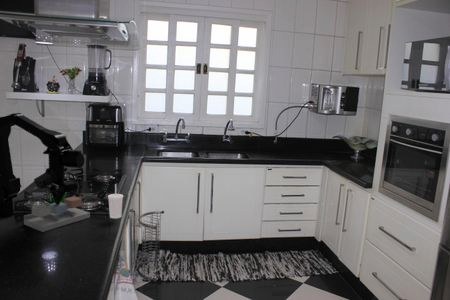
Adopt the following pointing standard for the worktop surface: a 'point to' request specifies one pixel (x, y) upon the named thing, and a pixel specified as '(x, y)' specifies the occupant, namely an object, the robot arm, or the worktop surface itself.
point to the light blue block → (58, 208)
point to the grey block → (41, 210)
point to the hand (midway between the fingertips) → (57, 204)
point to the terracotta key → (73, 202)
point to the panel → (55, 219)
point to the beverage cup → (115, 204)
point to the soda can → (51, 199)
